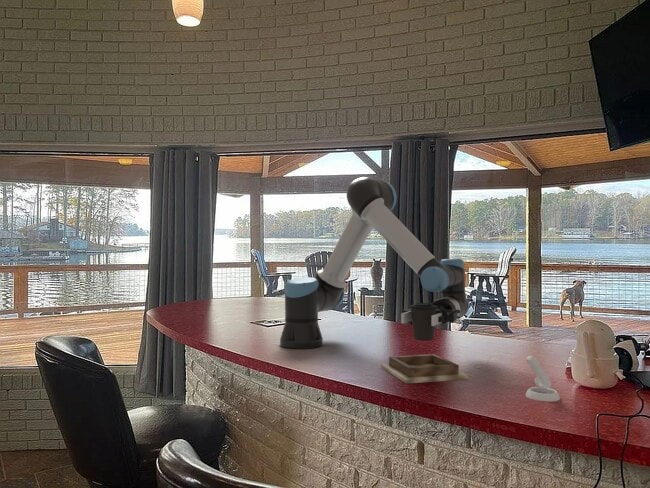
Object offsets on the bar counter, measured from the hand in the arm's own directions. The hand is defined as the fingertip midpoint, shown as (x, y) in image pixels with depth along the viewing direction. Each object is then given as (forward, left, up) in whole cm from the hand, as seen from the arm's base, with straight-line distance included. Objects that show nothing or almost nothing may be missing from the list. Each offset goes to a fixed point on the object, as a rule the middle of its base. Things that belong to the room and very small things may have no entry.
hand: (417, 319), depth 149 cm
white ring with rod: (+21, -25, -16) cm, 36 cm away
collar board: (+3, +3, -16) cm, 16 cm away
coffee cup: (+4, +3, -6) cm, 8 cm away
